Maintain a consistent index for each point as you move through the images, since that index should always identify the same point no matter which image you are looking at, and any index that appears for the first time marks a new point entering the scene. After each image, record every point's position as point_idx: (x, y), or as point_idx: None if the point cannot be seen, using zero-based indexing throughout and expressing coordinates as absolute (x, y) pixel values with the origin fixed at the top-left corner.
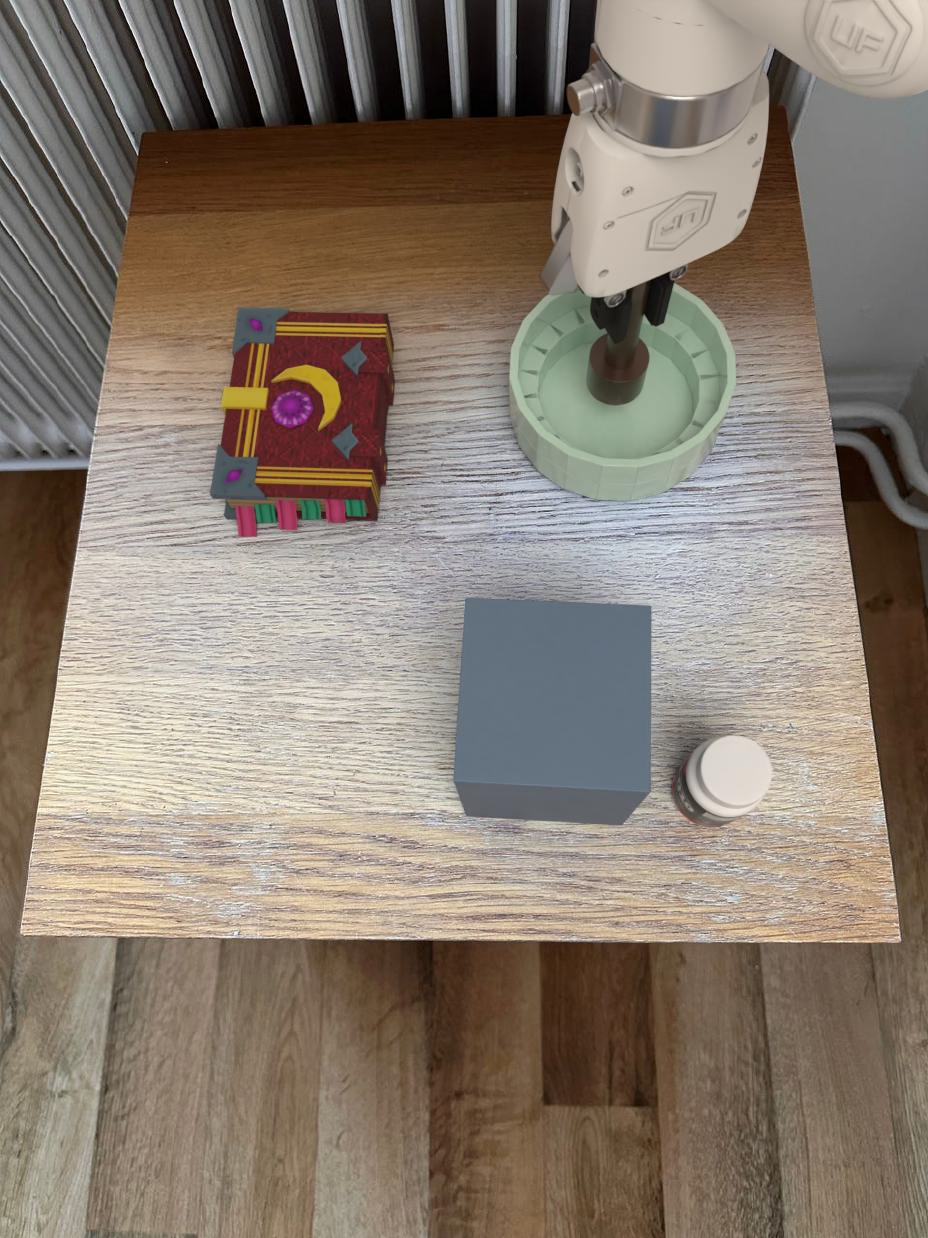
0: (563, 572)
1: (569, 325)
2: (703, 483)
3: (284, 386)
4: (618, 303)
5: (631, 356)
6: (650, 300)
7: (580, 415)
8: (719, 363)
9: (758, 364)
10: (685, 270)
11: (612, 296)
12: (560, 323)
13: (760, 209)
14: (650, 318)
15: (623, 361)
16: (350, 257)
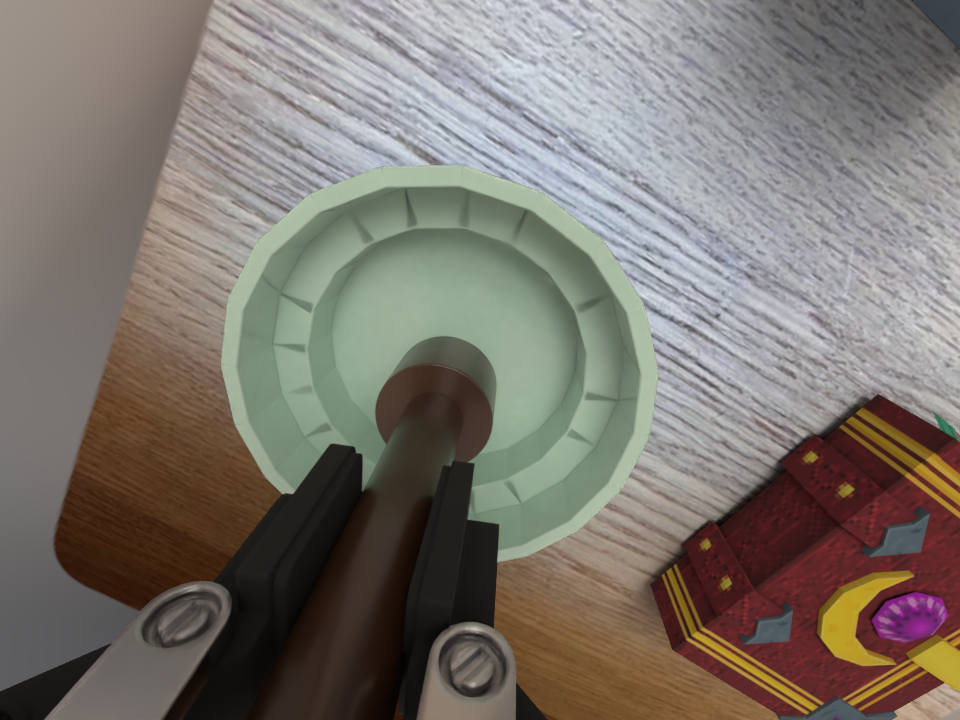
0: (706, 144)
1: None
2: (402, 153)
3: (884, 646)
4: (464, 629)
5: (421, 407)
6: (334, 529)
7: (507, 366)
8: (267, 308)
9: (219, 287)
10: (157, 606)
11: (493, 702)
12: None
13: (115, 477)
14: (356, 473)
15: (441, 407)
16: (607, 684)
